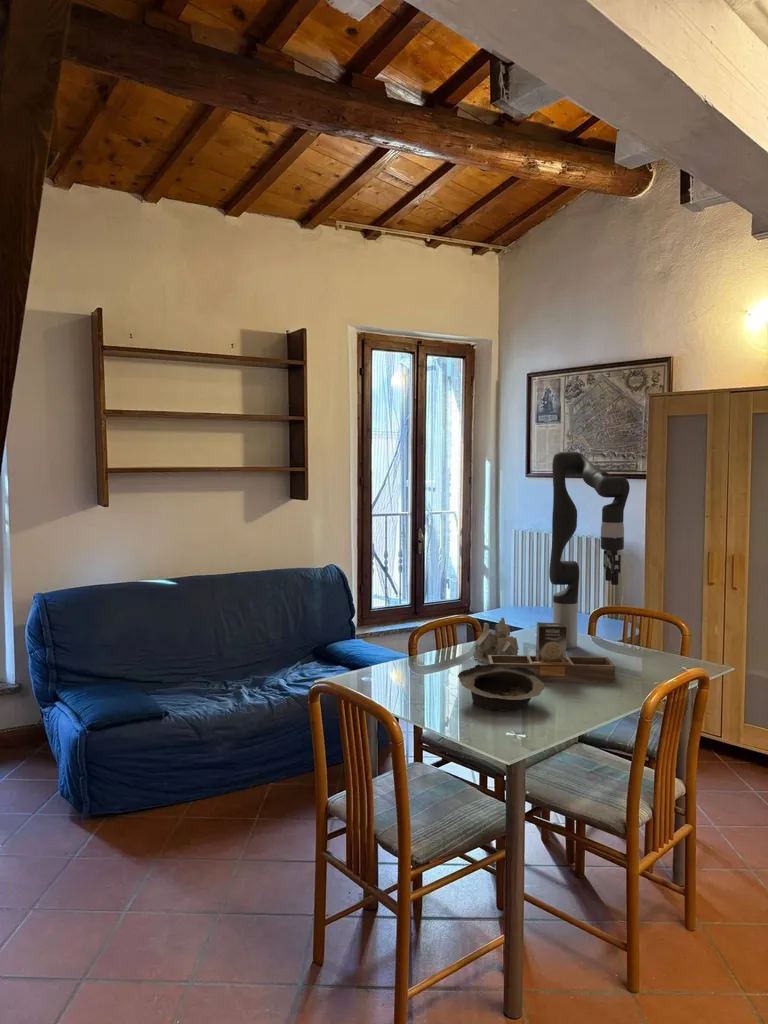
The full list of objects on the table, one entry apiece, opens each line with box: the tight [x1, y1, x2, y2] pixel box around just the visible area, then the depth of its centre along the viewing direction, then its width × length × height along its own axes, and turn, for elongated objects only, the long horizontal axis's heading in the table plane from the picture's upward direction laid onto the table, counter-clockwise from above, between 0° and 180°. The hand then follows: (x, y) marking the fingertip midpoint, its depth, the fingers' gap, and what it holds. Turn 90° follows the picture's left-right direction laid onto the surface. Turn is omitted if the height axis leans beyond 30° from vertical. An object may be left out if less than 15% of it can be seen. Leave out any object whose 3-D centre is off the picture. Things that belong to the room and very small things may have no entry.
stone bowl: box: [457, 663, 546, 713], centre depth 214 cm, size 25×25×9 cm
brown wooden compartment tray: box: [487, 654, 616, 684], centre depth 241 cm, size 11×40×6 cm, turn 86°
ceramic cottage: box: [472, 616, 520, 663], centre depth 262 cm, size 16×16×15 cm
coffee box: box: [535, 622, 567, 662], centre depth 241 cm, size 9×6×16 cm
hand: (611, 582), depth 248 cm, fingers open, 8 cm apart
